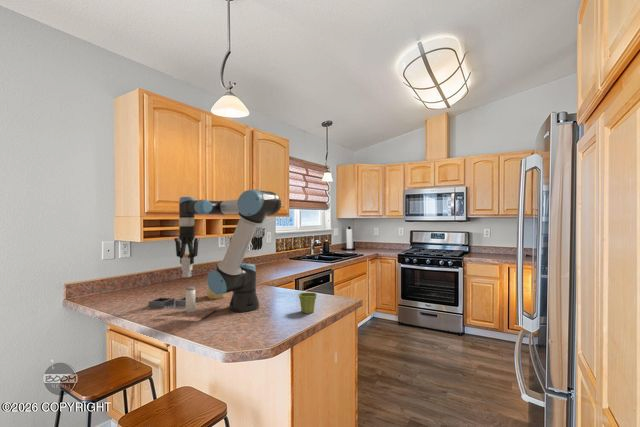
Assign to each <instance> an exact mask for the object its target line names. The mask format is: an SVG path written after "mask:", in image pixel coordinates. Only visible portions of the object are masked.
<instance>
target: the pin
mask: <svg viewBox="0 0 640 427" xmlns="http://www.w3.org/2000/svg"><path fill="white" fill-rule="evenodd" d="M189 257H190V255H189V253H185V254H183V257H182V259H183V270H182V278H191V277H192V270H190V271H188V258H189Z"/></svg>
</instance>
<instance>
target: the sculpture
mask: <svg viewBox="0 0 640 427" xmlns="http://www.w3.org/2000/svg"><path fill="white" fill-rule="evenodd" d="M228 293H229V292H228ZM228 293H225V294H219V295H217V294H214V293H213V292H212V291H211V290H210V288H209V286H208V285H207V289H206V296H207V298H208V299H210V300H221V299H225V298H227V296H228V295H229V294H228Z"/></svg>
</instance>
